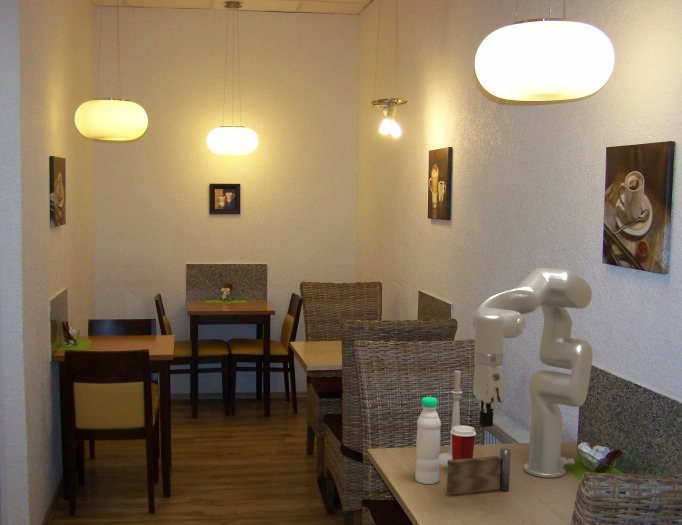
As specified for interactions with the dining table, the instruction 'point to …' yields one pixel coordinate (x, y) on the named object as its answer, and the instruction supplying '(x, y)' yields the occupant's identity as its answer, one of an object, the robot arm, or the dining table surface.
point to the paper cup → (462, 442)
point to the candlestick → (453, 417)
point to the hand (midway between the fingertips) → (486, 425)
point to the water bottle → (428, 443)
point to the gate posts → (503, 469)
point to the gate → (473, 474)
